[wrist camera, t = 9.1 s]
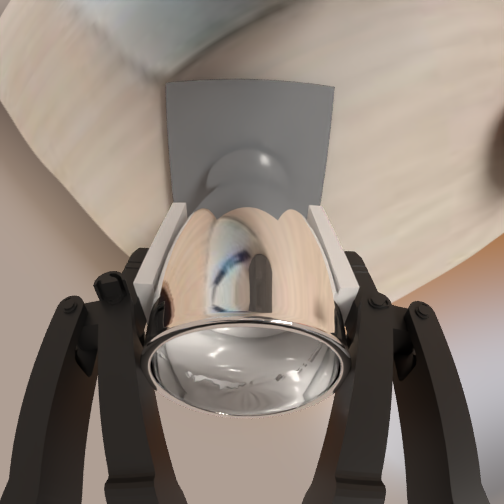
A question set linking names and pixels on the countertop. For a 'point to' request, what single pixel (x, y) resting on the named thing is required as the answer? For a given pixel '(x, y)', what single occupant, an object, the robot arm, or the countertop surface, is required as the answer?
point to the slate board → (248, 132)
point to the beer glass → (246, 302)
